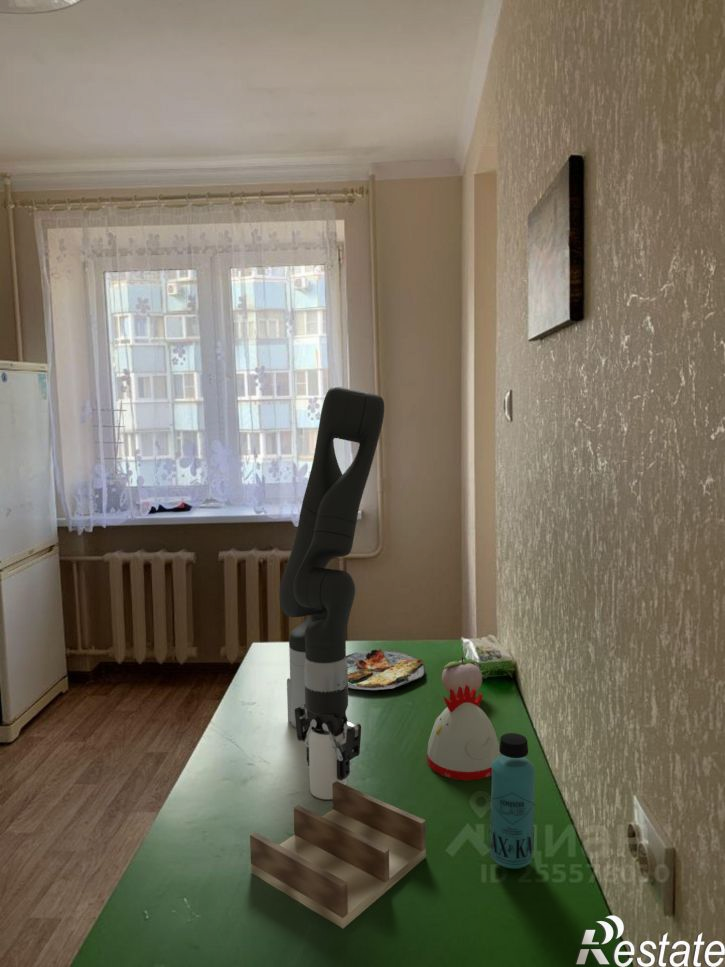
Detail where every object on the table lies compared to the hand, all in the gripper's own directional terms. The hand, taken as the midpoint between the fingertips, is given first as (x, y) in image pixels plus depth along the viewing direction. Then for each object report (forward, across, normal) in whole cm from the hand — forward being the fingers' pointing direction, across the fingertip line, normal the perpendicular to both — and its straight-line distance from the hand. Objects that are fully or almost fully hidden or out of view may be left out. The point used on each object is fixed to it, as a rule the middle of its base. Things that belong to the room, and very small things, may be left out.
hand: (328, 771), depth 129 cm
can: (+4, 0, 0) cm, 4 cm away
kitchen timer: (+4, +13, +24) cm, 28 cm away
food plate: (+4, -27, +47) cm, 54 cm away
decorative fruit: (+4, -2, +48) cm, 48 cm away
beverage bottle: (+4, +35, +2) cm, 35 cm away
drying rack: (+4, +15, -14) cm, 21 cm away
